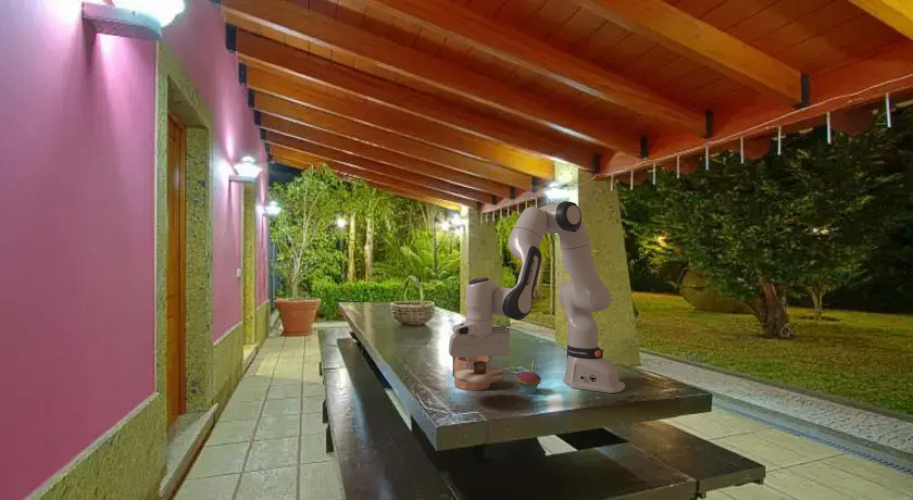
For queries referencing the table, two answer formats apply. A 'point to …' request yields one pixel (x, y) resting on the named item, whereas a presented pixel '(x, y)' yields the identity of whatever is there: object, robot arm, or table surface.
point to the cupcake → (528, 381)
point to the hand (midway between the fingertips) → (479, 369)
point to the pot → (462, 363)
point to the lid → (479, 374)
